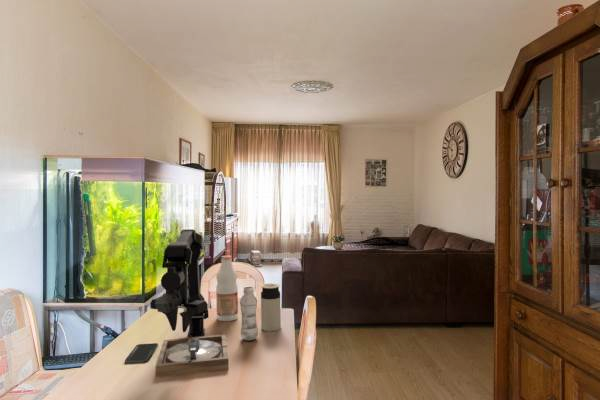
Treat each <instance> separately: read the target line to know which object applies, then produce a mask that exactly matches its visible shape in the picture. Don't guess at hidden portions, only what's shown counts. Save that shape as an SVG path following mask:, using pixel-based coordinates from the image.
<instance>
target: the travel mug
mask: <svg viewBox="0 0 600 400" xmlns="http://www.w3.org/2000/svg"><path fill="white" fill-rule="evenodd" d="M260 287H261V288H262V291H261V292H260V311H261V312H260V313H261V314H260V315H261V316H260V320H261V321H260V322H261V324H260V326H261V330H263V331H265V332H276V331H278V330H280V329H282V328H281V322H282V321H281V320H282V319H281V292H280V290H279V288H280V284H278V283H276V282H275V283H273V282H270V283H263V284H261V286H260Z"/></svg>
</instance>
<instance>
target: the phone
mask: <svg viewBox="0 0 600 400" xmlns="http://www.w3.org/2000/svg"><path fill="white" fill-rule="evenodd" d="M158 347H159V343H157V342H154V343H139V344H137V345H135V346H134V348H133V349H132V350H131V352H130V353H129V354H128V355H127V356H126V358H125V359H124V364H125V363H127V364H143V363H148V362H150V360H151V358H152V357H153V355H154V354H155V352H156V350H157V349H158ZM127 364H126V365H127Z"/></svg>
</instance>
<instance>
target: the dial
mask: <svg viewBox="0 0 600 400" xmlns="http://www.w3.org/2000/svg"><path fill="white" fill-rule="evenodd" d="M191 338H192V337H191ZM220 354H221V346H220V345H219V344H218V343H216V342H213V341H208V340H199V338H192V339H189V340H188V342H184V343H180V344H177V345H175V346H173V347H171V348H170V349H169V350H168V351H167V353H166V359H167V361H168V362H169V363H172V362H181V361H191V360H194V359H195V360H200V359H210V358H217V357H219V356H220Z"/></svg>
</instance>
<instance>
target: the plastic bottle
mask: <svg viewBox="0 0 600 400" xmlns="http://www.w3.org/2000/svg"><path fill="white" fill-rule="evenodd" d="M239 305H240V312H241V327H240V332H239V333H240V338H241V339H242V340H244V341H253V340H256V339H257V337H258V335H259V331H258V325H257V307H258V306H257V305H258V300H257V297H256V295H254V286H244V287H243V295H242V296H241V298H240V300H239Z"/></svg>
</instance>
